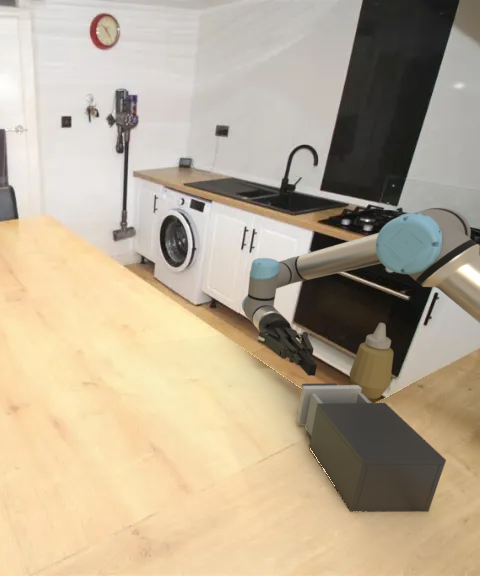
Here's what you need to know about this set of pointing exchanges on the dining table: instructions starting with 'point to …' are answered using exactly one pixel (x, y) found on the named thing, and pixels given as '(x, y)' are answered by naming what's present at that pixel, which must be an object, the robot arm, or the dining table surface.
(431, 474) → the cabinet
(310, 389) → the drawer
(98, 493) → the dining table surface
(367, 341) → the squeeze bottle
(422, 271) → the robot arm
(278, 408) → the dining table surface
